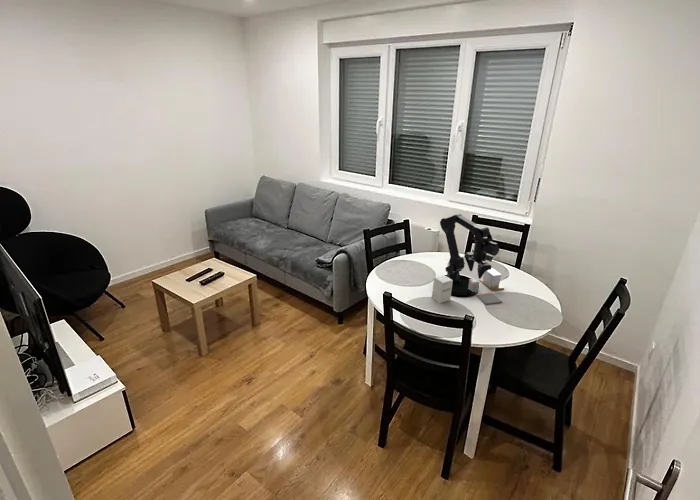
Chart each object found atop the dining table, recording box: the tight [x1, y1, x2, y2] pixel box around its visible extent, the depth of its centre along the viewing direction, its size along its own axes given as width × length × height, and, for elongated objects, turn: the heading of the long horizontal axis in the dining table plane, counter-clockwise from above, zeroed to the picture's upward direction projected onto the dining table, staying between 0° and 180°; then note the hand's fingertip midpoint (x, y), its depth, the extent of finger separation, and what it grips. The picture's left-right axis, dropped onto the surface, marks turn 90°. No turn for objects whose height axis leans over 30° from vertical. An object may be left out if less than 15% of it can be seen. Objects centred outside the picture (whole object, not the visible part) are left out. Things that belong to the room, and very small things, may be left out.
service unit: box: [479, 267, 505, 292], centre depth 224 cm, size 8×12×9 cm, turn 14°
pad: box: [475, 291, 503, 306], centre depth 211 cm, size 10×10×1 cm
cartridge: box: [467, 278, 480, 294], centre depth 218 cm, size 4×4×7 cm
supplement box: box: [431, 274, 453, 304], centre depth 208 cm, size 7×7×13 cm
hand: (475, 274), depth 215 cm, fingers open, 9 cm apart
